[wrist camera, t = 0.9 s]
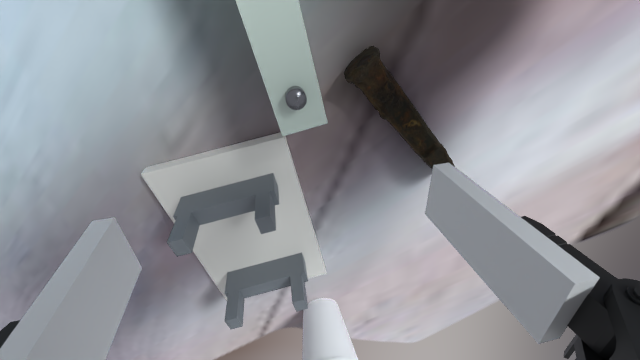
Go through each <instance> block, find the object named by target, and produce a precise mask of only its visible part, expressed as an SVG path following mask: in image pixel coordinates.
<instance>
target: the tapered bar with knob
mask: <svg viewBox="0 0 640 360" xmlns="http://www.w3.org/2000/svg"><path fill="white" fill-rule="evenodd" d="M235 1H236V4H237V6H238V9H239V12H240V15H241V18H242V21H243V24H244V27H245V30H246V32H247V35H248V38H249V41H250V44H251V47H252V50H253V53H254V56H255V58H256V61H257V64H258V67H259V70H260V73H261V76H262V79H263V82H264V84H265V87H266V90H267V93H268V96H269V99H270V102H271V105H272V108H273V110H274V113H275V116H276V119H277V122H278V125H279V128H280V131H281V134H282V136H286V135H289V134H293V133H296V132H300V131H303V130H307V129H310V128H314V127H317V126H320V125H324V124H327V123H328V122H327V118H326V113H325V109H324V105H323V101H322V97H321V92H320V88H319V84H318V80H317V76H316V71H315V67H314V63H313V59H312V55H311V50H310V46H309V42H308V38H307V34H306V29H305V25H304V21H303V17H302V13H301V8H300V4H299V0H235Z"/></svg>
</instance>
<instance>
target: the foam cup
mask: <svg viewBox="0 0 640 360" xmlns="http://www.w3.org/2000/svg"><path fill="white" fill-rule="evenodd" d="M303 313H304V314H303V347H302V349H303V350H302V351H303V352H302V360H358V358H357V355H356V352H355V350H354V347H353V344H352V342H351V339H350V336H349V334H348V331H347V328H346V326H345V323H344V320H343V318H342V315H341V313H340V310H339V307H338V305H337V302H336V301H334V300H333V299H329V298H320V299H315V300H313V301H311V302H309V303H308V309H305V310H304V311H303Z"/></svg>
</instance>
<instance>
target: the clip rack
mask: <svg viewBox="0 0 640 360" xmlns="http://www.w3.org/2000/svg"><path fill="white" fill-rule="evenodd" d="M141 176H142V177H143V179H144V180H145V182H146V183H147V184H148V186H149V187H150V189H151V190H152V192H153V193H154V195H155V196H156V198H157V199H158V201H159V202H160V204H161V205H162V207H163V208H164V209H165V211H166V212H167V214H168V215H169V217H170V218H171V220H172V221H173V223H174V226H173V229H172V231H171V234H170V236H169V239H168V241H167V244H168V245H169V246H170V248H171V249H172V250H173V252H174V253H175V254H176V256H177V257H178V256H182V255H185V254H189V253H192V251H193V252H194V254H195V255H196V256H197V258H198V259H199V261H200V262H201V264H202V265H203V267H204V268H205V270H206V271H207V273H208V274H209V276H210V277H211V279H212V280H213V281H214V283H215V284H216V286H217V287H218V289H219V290H220V292H221V293H222V295H223V296H224V298H225V299H226V301H227V306H226V314H225V322H226V324H227V325H228V326H229V328H230V329H234V328H238V327H242V326H243V312H244V298H247V297H251V296H255V295H258V294H262V293H266V292H269V291H273V290H277V289H281V288H284V287H288V286H291V291H292V303H293V305H294V307H295V309H296V312H297V311H301V310H305V309H308V304H307V297H306V289H305V282H307V281H308V279H309V278H313V277H316V276H320V275H324V274H327V273H326V268H325V264H324V261H323V258H322V254H321V251H320V248H319V244H318V241H317V238H316V235H315V231H314V228H313V225H312V221H311V218H310V215H309V212H308V208H307V205H306V202H305V198H304V195H303V192H302V189H301V185H300V182H299V179H298V175H297V172H296V169H295V166H294V162H293V159H292V156H291V152H290V149H289V146H288V143H287V139H286V136H282V134H281V132H280V133H276V134H272V135H268V136H264V137H260V138H256V139H253V140H249V141H245V142H241V143H237V144H233V145H230V146H226V147H222V148H218V149H214V150H210V151H207V152H203V153H199V154H195V155H191V156H187V157H184V158H180V159H176V160H172V161H168V162H164V163H161V164H157V165H153V166H149V167H145V169H144V170H143V172H142V173H141Z"/></svg>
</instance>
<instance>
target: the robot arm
mask: <svg viewBox="0 0 640 360" xmlns="http://www.w3.org/2000/svg"><path fill="white" fill-rule="evenodd" d="M425 214H426V215H427V217H428V218H429V219H430V220H431V221H432V222H433V224H434V225H435V226H436V227H437V228H438V229H439V230H440V232H441V233H442V234H443V235H444V236H445V237H446V238H447V240H448V241H449V242H450V243H451V244H452V245H453V247H454V248H455V249H456V250H457V251H458V252H459V253H460V255H461V256H462V257H463V258H464V259H465V260H466V261H467V263H468V264H469V265H470V266H471V267H472V268H473V269H474V271H475V272H476V273H477V274H478V275H479V276H480V278H481V279H482V280H483V281H484V282H485V283H486V284H487V286H488V287H489V288H490V289H491V290H492V291H493V292H494V294H495V295H496V296H497V297H498V298H499V299H500V301H501V302H502V303H503V304H504V305H505V306H506V307H507V309H508V310H509V311H510V312H511V313H512V314H513V315H514V317H515V318H516V319H517V320H518V321H519V322H520V323H521V325H522V326H523V327H524V328H525V329H526V330H527V332H528V333H529V334H530V335H531V336H532V337H533V338H534V340H535V341H536V342H537V343H538V344H541V343H544V342H548V341H551V340H554V339H558V338H560V337H561V335H562V334H563V332H564V331H565V329H566V328H567V326H569V328H571V329H572V330H573V331H574V332H575V333H576V336H575V337H574V338H573V340H572V341H571V343H570V344H569V345H568V347H567V348H566V350H565V351H564V358H567V359H568V358H569V357H570V356H571V355H572V353H573V352H574V351H575V353H576V359H575V360H640V281H637V280H632V279H617V278H616V277H614V276H613V275H611V274H610V273H608V272H607V271H606V270H604V269H603V268H602V267H600V266H599V265H598V264H596V263H595V262H593V261H592V260H591V259H589V258H588V257H587V256H585V255H584V254H582V253H581V252H580V251H578V250H577V249H576V248H574V247H573V246H571V245H570V244H567V242H566V241H565V240H563V239H562V238H561V237H559V236H556V235H555V233H554V232H552V231H551V230H550V229H548V228H547V227H545V226H544V225H543V224H541V223H539V222H537V221H535V220H532V219H530V218H528V217H526V216H523V217H520V216H518V215H517V214H516V213H515V212H513V211H512V210H511V209H509V208H508V207H507V206H505V205H504V204H503V203H501V202H500V201H499V200H497V199H496V198H495V197H494V196H492V195H491V194H490V193H488V192H487V191H486V190H484V189H483V188H482V187H480V186H479V185H478V184H476V183H475V182H474V181H473V180H471V179H470V178H469V177H467V176H466V175H465V174H463V173H462V172H461V171H459V170H458V169H457V168H455V167H454V166H453V165H451V164H450V163H443V164H437V165H433V170H432V176H431V182H430V188H429V194H428V200H427V206H426V211H425ZM141 269H142V267H141V265H140V263H139V261H138V260H137V258H136V256H135V254H134V252H133V250H132V248H131V247H130V245H129V243H128V241H127V239H126V237H125V235H124V234H123V232H122V230H121V228H120V226H119V224H118V222H117V221H116V219H115V217H113V218H106V219H100V220H94V221H92V222H91V223H90V225H89V226H88V227H87V229H86V230H85V232H84V233H83V234H82V236H81V237H80V239H79V240H78V241H77V243H76V244H75V245H74V247H73V248H72V250H71V251H70V252H69V254H68V255H67V257H66V258H65V259H64V261H63V262H62V264H61V265H60V266H59V268H58V269H57V270H56V272H55V273H54V275H53V276H52V277H51V279H50V280H49V282H48V283H47V284H46V286H45V287H44V288H43V290H42V291H41V293H40V294H39V295H38V297H37V298H36V300H35V301H34V302H33V304H32V305H31V307H30V308H29V309H28V311H27V312H26V313H25V315H24V316H23V318H22V319H21V320H19V321H14V322H10V323H9V324H8V325H7V326H6V327H4V328H3V329H2V330H1V331H0V360H106V357H107V355H108V352H109V350H110V347H111V345H112V342H113V340H114V337H115V335H116V332H117V330H118V327H119V325H120V322H121V320H122V317H123V315H124V312H125V309H126V307H127V304H128V302H129V299H130V297H131V294H132V292H133V289H134V287H135V284H136V282H137V279H138V277H139V274H140V272H141Z"/></svg>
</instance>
